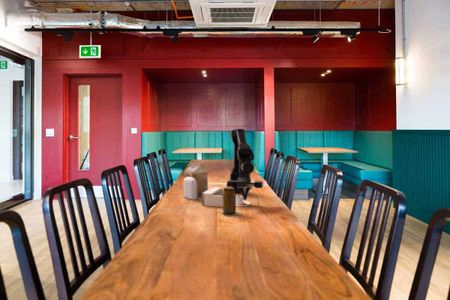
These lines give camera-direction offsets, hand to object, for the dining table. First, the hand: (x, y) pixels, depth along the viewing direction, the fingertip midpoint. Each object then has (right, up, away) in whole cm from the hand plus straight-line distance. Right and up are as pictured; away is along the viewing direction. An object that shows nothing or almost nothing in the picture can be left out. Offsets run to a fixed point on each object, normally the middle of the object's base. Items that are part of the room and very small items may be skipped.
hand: (245, 200), depth 154 cm
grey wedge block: (-15, -2, +5) cm, 16 cm away
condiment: (-8, -4, -17) cm, 19 cm away
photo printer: (-31, -2, +15) cm, 34 cm away
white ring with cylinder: (-3, -3, +1) cm, 4 cm away
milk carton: (-29, -1, +26) cm, 38 cm away
